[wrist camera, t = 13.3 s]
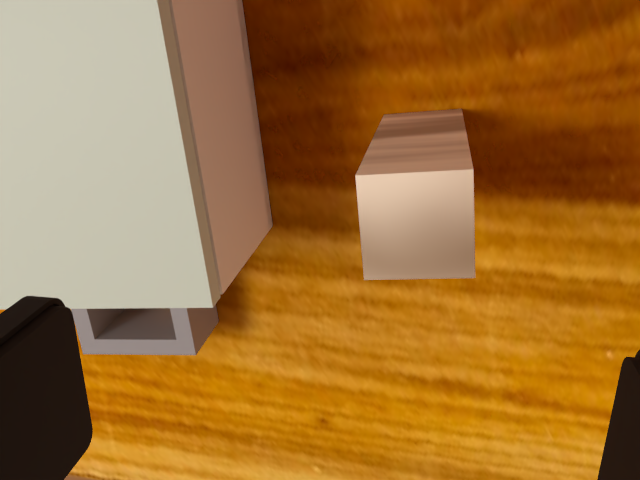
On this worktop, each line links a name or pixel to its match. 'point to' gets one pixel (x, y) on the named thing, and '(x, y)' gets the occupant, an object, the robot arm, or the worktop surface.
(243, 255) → the toolbox
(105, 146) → the toolbox lid
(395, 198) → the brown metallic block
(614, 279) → the worktop surface
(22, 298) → the robot arm
